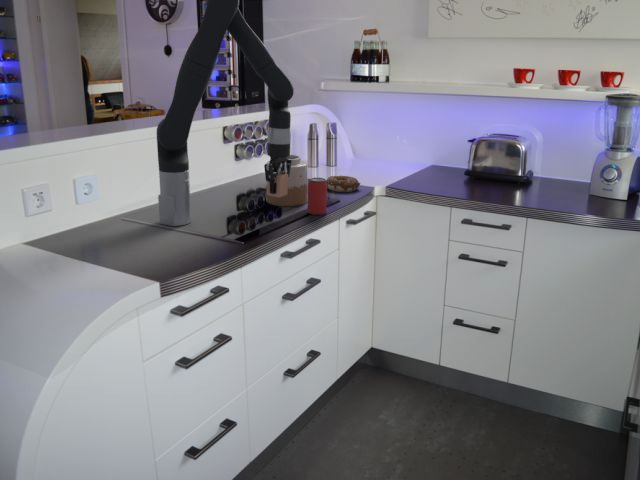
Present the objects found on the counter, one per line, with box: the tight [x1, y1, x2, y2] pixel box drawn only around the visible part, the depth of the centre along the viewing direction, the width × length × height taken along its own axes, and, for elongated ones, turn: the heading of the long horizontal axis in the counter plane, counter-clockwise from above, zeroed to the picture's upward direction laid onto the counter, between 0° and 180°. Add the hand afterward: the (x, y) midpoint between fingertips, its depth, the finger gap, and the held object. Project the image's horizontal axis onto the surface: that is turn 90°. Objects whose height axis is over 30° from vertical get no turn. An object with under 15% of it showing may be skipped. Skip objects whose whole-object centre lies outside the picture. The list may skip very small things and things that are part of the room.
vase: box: [265, 154, 309, 207], centre depth 222 cm, size 15×15×17 cm
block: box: [267, 172, 288, 197], centre depth 202 cm, size 5×5×7 cm
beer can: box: [307, 177, 328, 216], centre depth 209 cm, size 7×7×12 cm
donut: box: [326, 175, 361, 193], centre depth 245 cm, size 14×14×5 cm
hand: (277, 191), depth 202 cm, fingers closed on block, 5 cm apart
